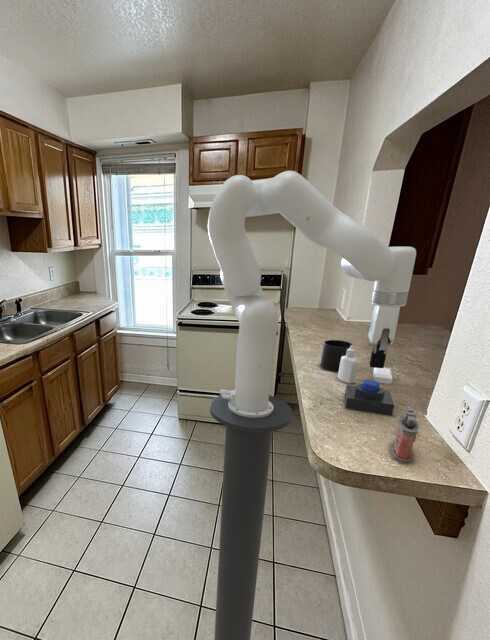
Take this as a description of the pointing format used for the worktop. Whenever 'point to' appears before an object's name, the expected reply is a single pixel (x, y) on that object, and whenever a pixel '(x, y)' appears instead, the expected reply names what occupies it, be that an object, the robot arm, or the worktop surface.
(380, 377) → the soap bar
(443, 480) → the worktop surface
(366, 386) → the blue button cap
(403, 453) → the lighter
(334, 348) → the mug
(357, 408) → the button housing
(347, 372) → the eye dropper bottle
